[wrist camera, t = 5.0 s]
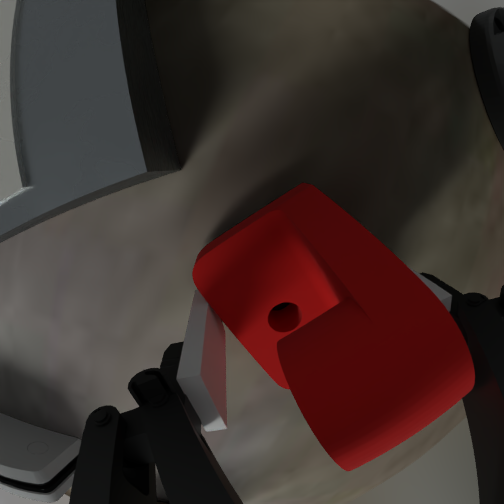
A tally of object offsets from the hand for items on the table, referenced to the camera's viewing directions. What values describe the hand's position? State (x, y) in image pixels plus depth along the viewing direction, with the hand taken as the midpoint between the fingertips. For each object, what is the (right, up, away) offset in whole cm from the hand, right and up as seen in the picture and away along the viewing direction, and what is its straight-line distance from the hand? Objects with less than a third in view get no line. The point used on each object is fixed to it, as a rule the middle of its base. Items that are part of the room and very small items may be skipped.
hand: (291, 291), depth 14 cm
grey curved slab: (-25, -16, +3) cm, 30 cm away
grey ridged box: (-16, +10, -4) cm, 19 cm away
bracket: (0, 0, +1) cm, 1 cm away
